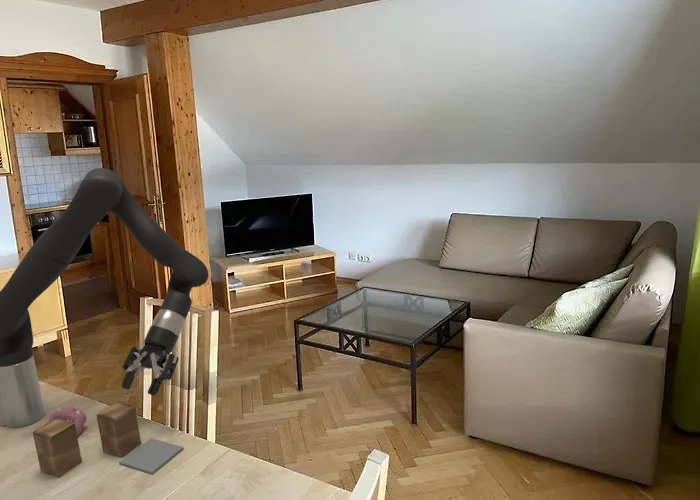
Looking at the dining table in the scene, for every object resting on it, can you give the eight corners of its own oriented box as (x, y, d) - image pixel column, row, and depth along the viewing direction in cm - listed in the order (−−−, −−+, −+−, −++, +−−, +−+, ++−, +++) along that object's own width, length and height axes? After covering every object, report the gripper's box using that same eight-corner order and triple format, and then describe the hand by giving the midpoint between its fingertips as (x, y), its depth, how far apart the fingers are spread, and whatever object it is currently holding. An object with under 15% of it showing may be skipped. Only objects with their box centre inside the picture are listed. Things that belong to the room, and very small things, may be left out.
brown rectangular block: (103, 452, 130) (96, 414, 128) (122, 438, 135) (116, 401, 133) (121, 457, 128) (115, 419, 125) (141, 443, 133) (135, 406, 130)
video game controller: (86, 437, 139) (91, 409, 141) (73, 439, 135) (78, 410, 136) (54, 433, 142) (59, 405, 143) (40, 435, 138) (45, 406, 139)
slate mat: (119, 464, 125) (118, 461, 125) (151, 440, 134) (151, 438, 134) (152, 474, 121) (152, 472, 121) (183, 449, 130) (183, 447, 130)
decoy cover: (40, 471, 124) (32, 431, 122) (64, 456, 129) (56, 418, 127) (59, 477, 122) (50, 437, 119) (82, 461, 127) (74, 423, 124)
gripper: (135, 321, 142) (106, 381, 135) (178, 328, 136) (150, 391, 129) (153, 332, 148) (126, 391, 141) (195, 339, 142) (169, 401, 135)
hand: (137, 391), depth 135 cm, fingers open, 8 cm apart
